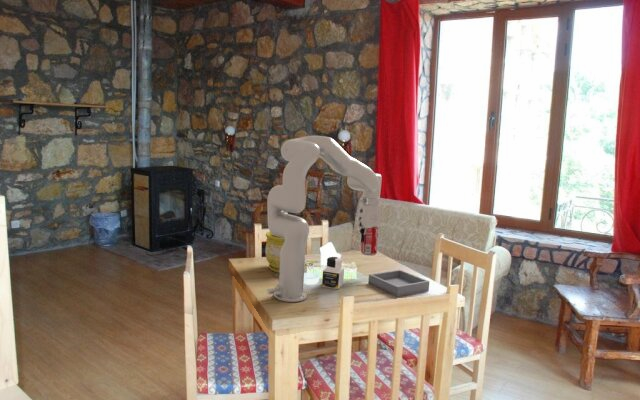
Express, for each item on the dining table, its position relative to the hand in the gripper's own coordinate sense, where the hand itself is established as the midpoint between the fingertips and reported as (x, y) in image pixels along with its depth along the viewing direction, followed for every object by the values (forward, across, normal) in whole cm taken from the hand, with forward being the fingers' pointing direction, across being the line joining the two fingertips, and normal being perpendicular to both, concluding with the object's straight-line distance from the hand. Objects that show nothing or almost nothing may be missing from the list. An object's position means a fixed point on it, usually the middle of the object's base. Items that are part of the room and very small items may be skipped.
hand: (366, 242), depth 226 cm
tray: (+16, +6, -16) cm, 23 cm away
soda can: (+5, +1, 0) cm, 6 cm away
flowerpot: (+17, -26, +25) cm, 40 cm away
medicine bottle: (+17, -19, -3) cm, 26 cm away
